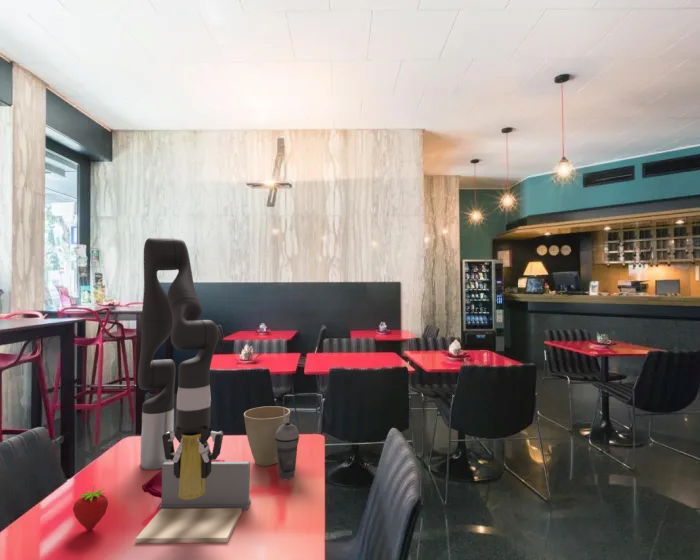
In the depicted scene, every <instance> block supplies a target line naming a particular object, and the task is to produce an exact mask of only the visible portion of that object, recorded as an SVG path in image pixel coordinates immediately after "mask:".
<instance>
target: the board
mask: <svg viewBox="0 0 700 560" xmlns="http://www.w3.org/2000/svg"><path fill="white" fill-rule="evenodd" d="M241 509H242V508H214V509H161V510H160V511H159V510H158V512H157V513H156V514H155V515H154V516H153V518H152V519H151V520H150V521H149V522H148V524H147V525H145V527H144V528H143V529H142V531H140V533H139V534H138V535H137V536H136V537H135V544H167V543H169V544H175V543H176V544H178V543H179V544H180V543H181V544H184V543H185V544H187V543H189V544H192V543H204V544H205V543H228V542H229V539H230V538H231V535H232V534H233V531H234V529H235V527H236V525H237V523H238V520H239V518H240V516H241V514H242V510H241Z"/></svg>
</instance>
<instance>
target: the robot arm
mask: <svg viewBox="0 0 700 560" xmlns="http://www.w3.org/2000/svg"><path fill="white" fill-rule="evenodd" d="M158 271H178V272H177V275H176V277H175V278H174V279H173V281H172V282H171V284H170V285H169V288H168V290H167V292H166V291H165V289H164V288H163V286H162V284H161V283H160V281H159V277H158ZM142 300H143V301H142V311H141V328H140V329H141V331H140V332H141V333H140V334H141V336H140V337H141V339H140V341H141V344H140V354H139V360H138V361H139V363H138V367H137V368H138V369H137V370H138V371H137V384H138V387H139V389H140V390H142V391H151V390H160V389H163V390H162V391H161V392H159V393H158V394H157V395H155V396H153V397H151V398H149V399H147V400H145V401H144V402H143V403H142V405H141V411H142V412H141V433H140V467H141V469H143V470H147V471H151V470H154V471H155V470H160V469H162V464H163V463H164V462H174V476H176V478H180V462H181V453H182V442H183V437H182V438H181V434H183V435H186V436H192V435H198V434H202V435H201V440H200V439H199V437H198V436H197V442H198V443H199V445H200V446H199V453H200V454H201V455H202V457H203V460H204V462H203V478H207V477H208V476H209V474H210V473H211V462H213V461H214V460H217V458H218V457H219V456H220V454H221V450H222V446H223V445H222V444H223V440H224V439H223V438H224V431H223V430H220V431H215V430H213V429H212V428H211V407H212V406H211V403H212V399H211V398H212V396H211V395H212V394H211V384H210V380H211V366H212V362H213V361H212V360H213V356H214V352H215V350H216V346H217V344H218V339H219V329H218V326H217V324H216V323H215V322H214V321H213V320H210V319H200V318H201V316H202V314H203V311H202V310H203V308H202V306H201V303H200V300H199V297H198V295H197V291H196V288H195V284H194V279H193V272H192V266H191V259H190V254H189V250H188V246H187V244H186V243H185V241H184V240H183V239H181V238H175V237H169V238H167V237H148V238H147V239H146V240H145V242H144V245H143V299H142ZM169 337H170V342H171V343H170V344H171V345H172V347H174V348H175V350H177V351H179V352H186V351H187V352H188V351H197V350H198V353H197V354H196V355H195V357H193V358H189V359H187V360H186V359H185V360H184V361H182V362H180V363H179V365H178V371H176V370H177V369H176V363H175V361H174V360H173V359H171V358H169V359H166V358H165V359H153V358H154V356H155V354H156V353H157V351H158V349H160V347H161V346H162V345H163V344H164V343H165V342H166V341H167V340H168V339H169ZM176 372H178V373H177V375H178V376H177V377H178V378H177V380H178V381H177V383H178V384H177V385H178V386H177V394H176V417H175V416H174V415H175V411H174V410H175V407H174V406H175V405H174V404H175V386H176V385H175V384H176V383H175V382H176ZM174 417H175V418H176V420H175V421H176V422H175V421H174V419H175V418H174ZM174 423H175V424H176V428H175V431H174V427H175V426H174V425H175V424H174ZM210 438H211V439H212V440H211V441H212V442H213V448H212V451H211V449H210V444H209V441H208V440H209V439H210ZM175 439H176V441H177V442H178V443H179V445H178V446H177V448H176V451H175V446H174V440H175ZM204 444H205V447H204V446H203V445H204Z"/></svg>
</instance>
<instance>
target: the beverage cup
mask: <svg viewBox="0 0 700 560" xmlns="http://www.w3.org/2000/svg"><path fill="white" fill-rule="evenodd" d="M283 415H284V424H282V425H281V426H280V427H279V428H278V430H277V432H276V436H275V440H276V445H277V456H278V462H277V466H278V467H277V469H278V475H279V476H278V477H279V479H280V478H281V480H284V479H288V480H291V479H290V478H292V477H293V478H294V477H295V474H296V473H295V472H296V468H297V467H296V465H297V454H298V445H299V440H300V435H299V430H298V428H297V426H296V425H295V424H292V422H289V423H286V419H285V409H283ZM293 478H292V479H293Z"/></svg>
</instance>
